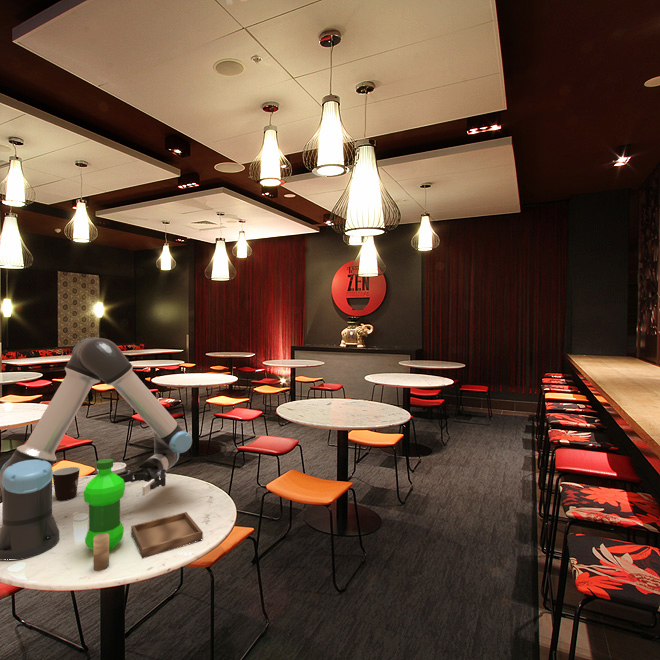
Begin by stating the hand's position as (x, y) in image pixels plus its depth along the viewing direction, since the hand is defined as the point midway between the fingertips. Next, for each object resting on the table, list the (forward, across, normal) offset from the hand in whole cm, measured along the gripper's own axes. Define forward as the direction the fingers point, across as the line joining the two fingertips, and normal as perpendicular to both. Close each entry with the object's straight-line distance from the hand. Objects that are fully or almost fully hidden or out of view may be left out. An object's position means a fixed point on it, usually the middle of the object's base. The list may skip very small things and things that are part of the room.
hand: (121, 491), depth 126 cm
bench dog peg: (+18, -4, -13) cm, 22 cm away
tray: (+2, -15, -13) cm, 20 cm away
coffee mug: (-28, +35, -13) cm, 47 cm away
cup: (-28, +19, -13) cm, 37 cm away
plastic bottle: (+9, 0, -13) cm, 16 cm away
